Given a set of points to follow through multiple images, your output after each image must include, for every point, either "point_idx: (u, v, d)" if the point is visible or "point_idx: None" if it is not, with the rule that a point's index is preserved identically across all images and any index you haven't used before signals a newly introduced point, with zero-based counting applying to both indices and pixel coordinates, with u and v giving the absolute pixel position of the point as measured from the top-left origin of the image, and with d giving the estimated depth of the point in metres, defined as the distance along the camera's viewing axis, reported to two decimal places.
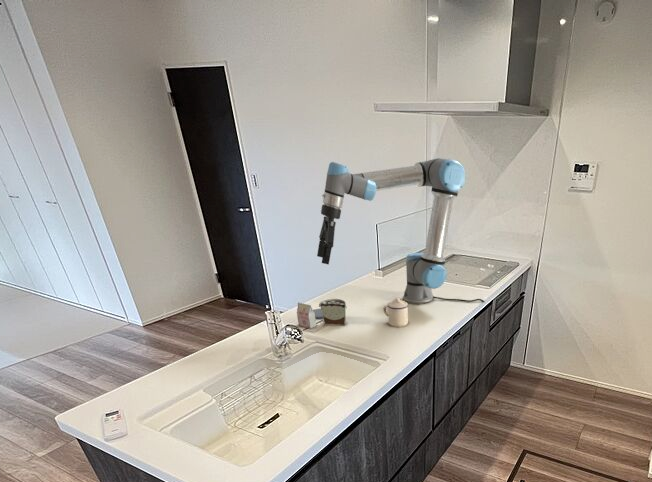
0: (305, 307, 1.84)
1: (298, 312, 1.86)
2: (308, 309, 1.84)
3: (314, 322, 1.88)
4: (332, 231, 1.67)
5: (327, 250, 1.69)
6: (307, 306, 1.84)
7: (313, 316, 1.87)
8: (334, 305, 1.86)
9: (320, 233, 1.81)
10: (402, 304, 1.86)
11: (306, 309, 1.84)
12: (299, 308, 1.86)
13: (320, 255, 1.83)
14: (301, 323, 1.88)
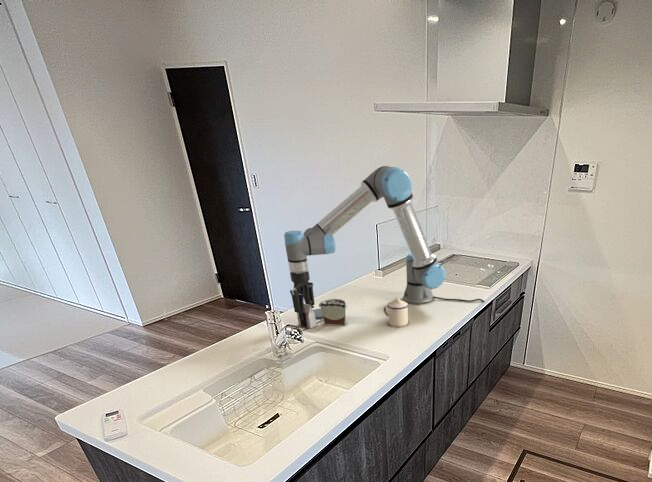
0: (305, 307, 1.84)
1: None
2: (308, 309, 1.84)
3: (314, 322, 1.88)
4: (295, 299, 1.78)
5: (299, 315, 1.83)
6: (307, 306, 1.84)
7: (313, 316, 1.87)
8: (334, 305, 1.86)
9: None
10: (402, 304, 1.86)
11: (306, 309, 1.84)
12: None
13: None
14: None
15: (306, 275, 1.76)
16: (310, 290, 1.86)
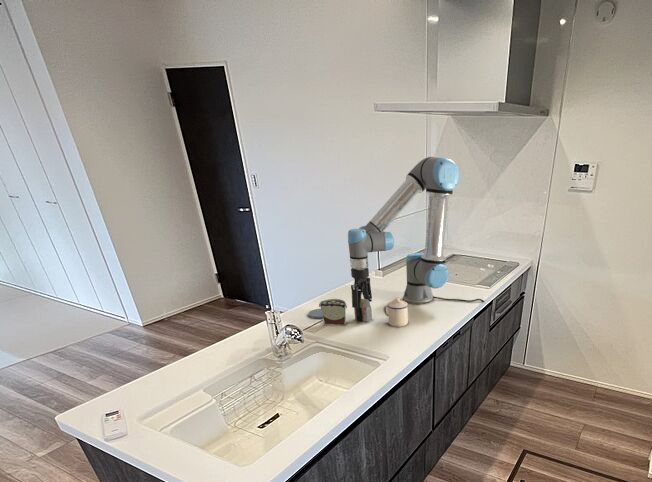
0: (363, 302, 1.91)
1: None
2: (366, 304, 1.90)
3: (370, 316, 1.95)
4: (354, 294, 1.84)
5: (356, 310, 1.89)
6: (365, 301, 1.90)
7: (370, 310, 1.93)
8: (334, 305, 1.86)
9: None
10: (402, 304, 1.86)
11: (364, 304, 1.91)
12: None
13: None
14: None
15: (366, 271, 1.83)
16: (368, 285, 1.93)
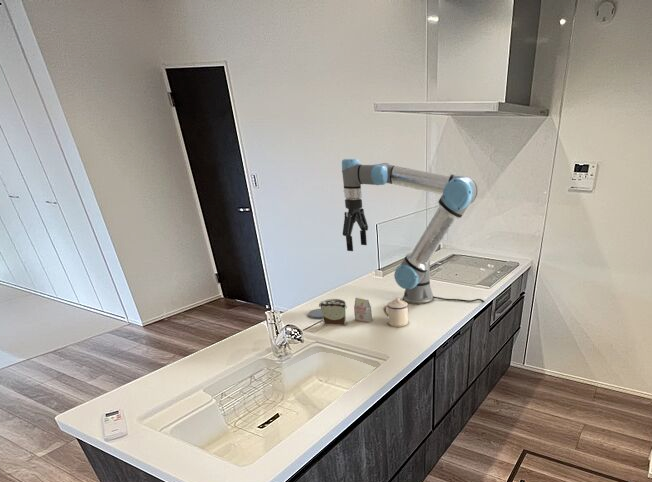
0: (363, 302, 1.91)
1: (355, 307, 1.93)
2: (366, 304, 1.90)
3: (370, 316, 1.95)
4: (347, 221, 1.89)
5: (347, 239, 1.93)
6: (365, 301, 1.90)
7: (370, 311, 1.93)
8: (334, 305, 1.86)
9: None
10: (402, 304, 1.86)
11: (364, 304, 1.91)
12: (356, 303, 1.92)
13: (363, 243, 2.07)
14: (358, 317, 1.95)
15: (360, 202, 1.90)
16: (362, 216, 2.00)
